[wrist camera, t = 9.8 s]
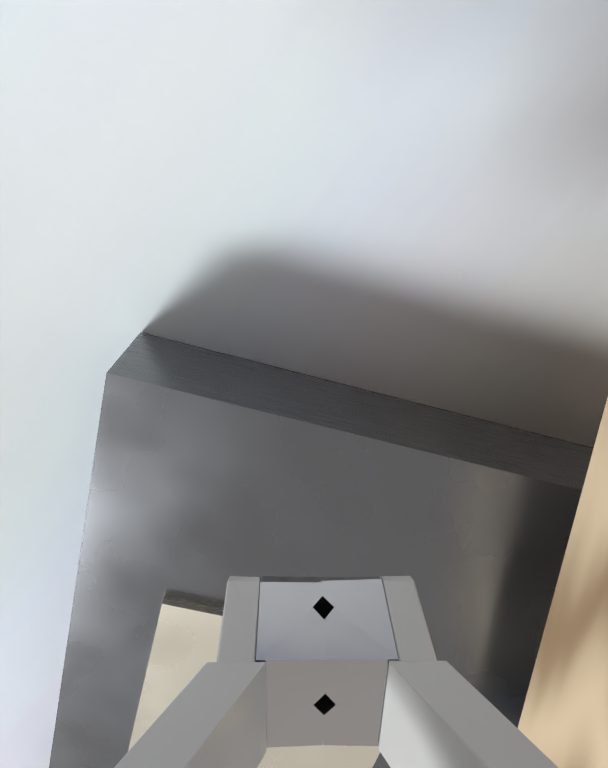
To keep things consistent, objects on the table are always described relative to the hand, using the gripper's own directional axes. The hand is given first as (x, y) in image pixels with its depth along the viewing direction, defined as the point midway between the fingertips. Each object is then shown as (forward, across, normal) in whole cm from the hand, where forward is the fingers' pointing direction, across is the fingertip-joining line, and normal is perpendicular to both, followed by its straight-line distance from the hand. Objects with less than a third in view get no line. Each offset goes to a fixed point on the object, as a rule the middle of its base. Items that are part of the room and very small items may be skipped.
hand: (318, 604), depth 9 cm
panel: (+8, -1, +10) cm, 13 cm away
